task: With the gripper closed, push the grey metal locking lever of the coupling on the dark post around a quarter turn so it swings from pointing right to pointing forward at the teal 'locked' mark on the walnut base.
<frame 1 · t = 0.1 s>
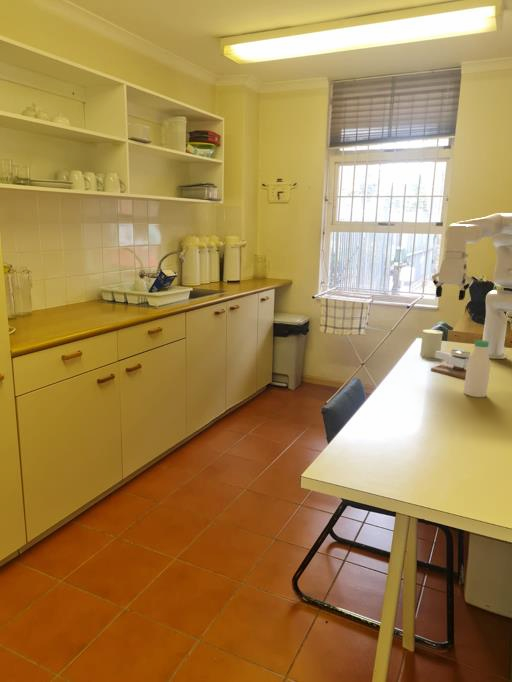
hand: (449, 298, 208), 31 cm above the table, fingers open, 9 cm apart
can: (430, 355, 241), on the table
milk bottle: (474, 394, 185), on the table
coupling: (452, 356, 215), point 6 cm above the table, hinge at 0.0°
post base: (458, 371, 214), on the table
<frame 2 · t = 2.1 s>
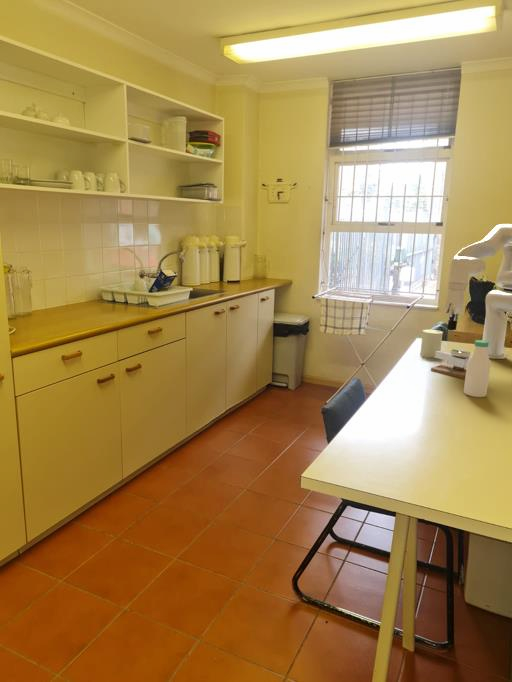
hand: (451, 329, 219), 16 cm above the table, fingers closed
nothing on the table moved.
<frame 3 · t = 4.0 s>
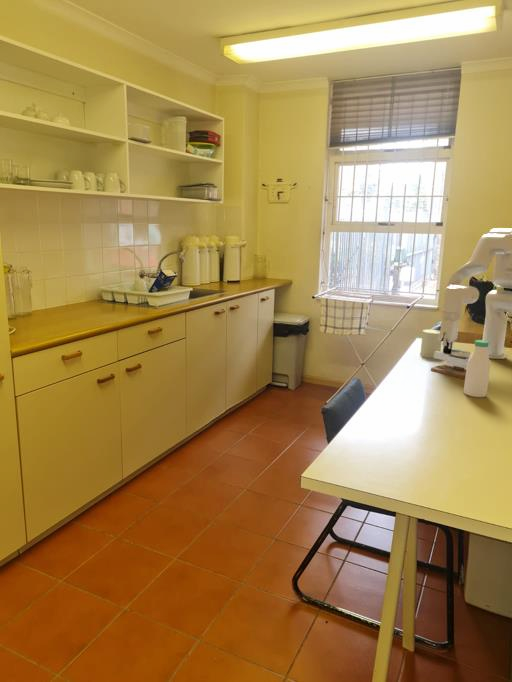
hand: (446, 357, 220), 4 cm above the table, fingers closed
coupling: (451, 356, 215), point 6 cm above the table, hinge at 5.4°, touching gripper
everything else where it was.
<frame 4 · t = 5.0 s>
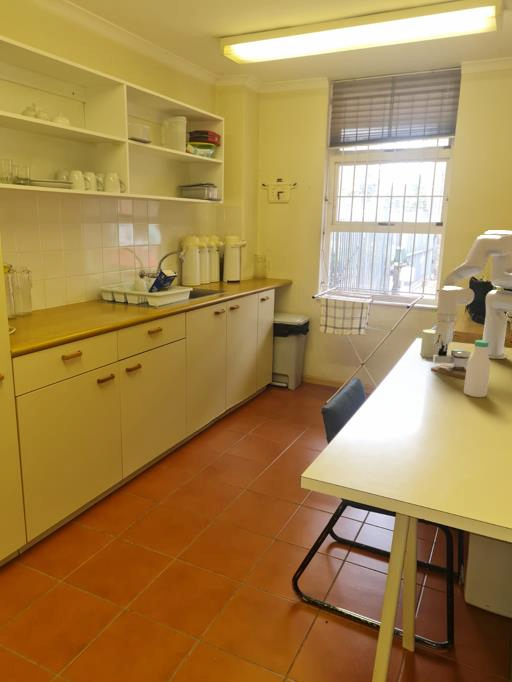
hand: (441, 359, 216), 4 cm above the table, fingers closed
coupling: (451, 357, 213), point 6 cm above the table, hinge at 49.5°
everything else where it was.
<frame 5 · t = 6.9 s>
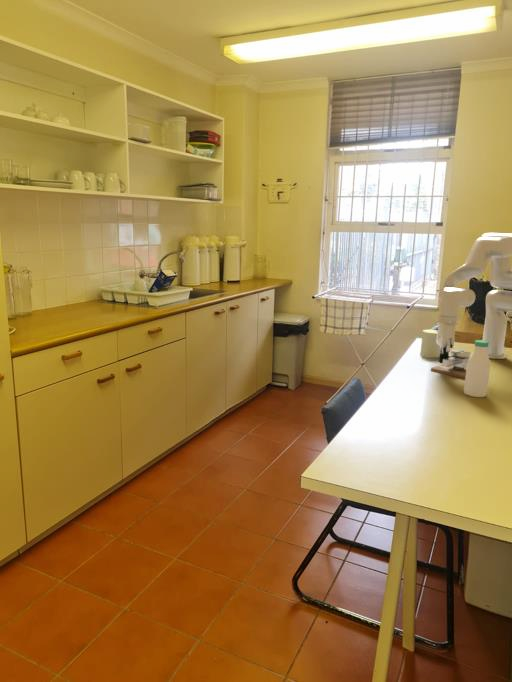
hand: (443, 362, 212), 4 cm above the table, fingers closed
coupling: (455, 358, 211), point 6 cm above the table, hinge at 87.0°, touching gripper
everything else where it was.
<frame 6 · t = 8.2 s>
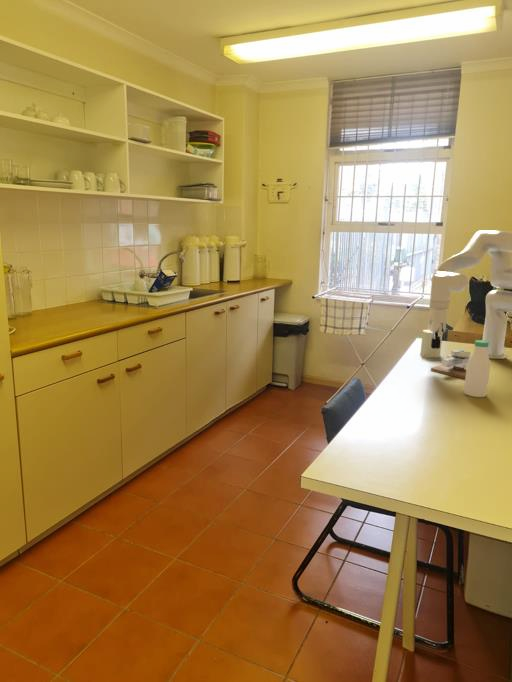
hand: (435, 347, 212), 10 cm above the table, fingers closed
coupling: (455, 358, 211), point 6 cm above the table, hinge at 87.2°
everything else where it was.
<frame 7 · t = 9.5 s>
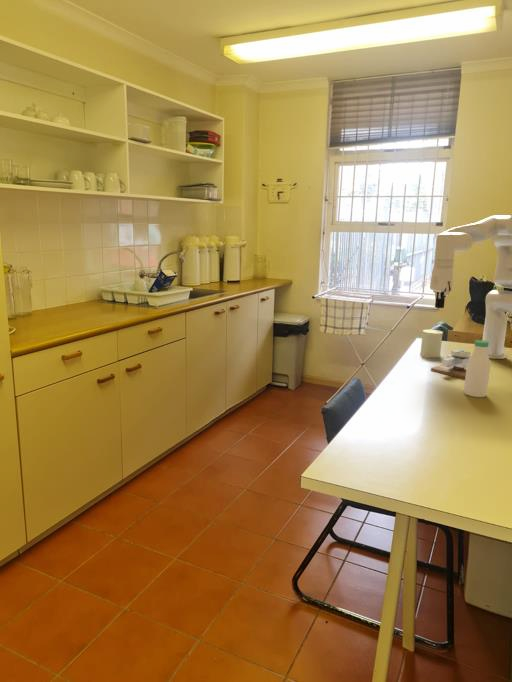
hand: (439, 307, 214), 26 cm above the table, fingers closed
nothing on the table moved.
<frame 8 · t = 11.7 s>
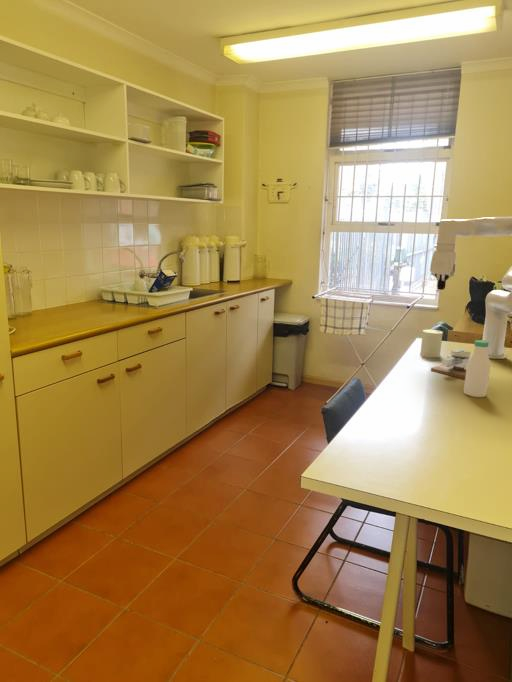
hand: (440, 289, 228), 32 cm above the table, fingers closed
nothing on the table moved.
at the end: coupling at +87° (first picture: +0°); the gripper is holding nothing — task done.
